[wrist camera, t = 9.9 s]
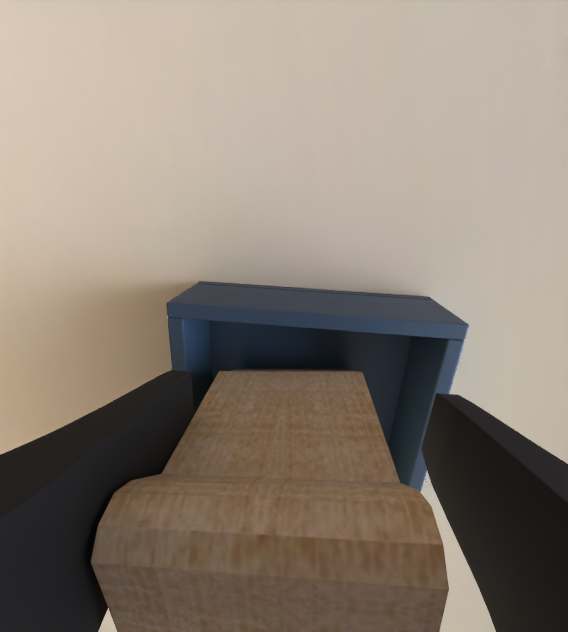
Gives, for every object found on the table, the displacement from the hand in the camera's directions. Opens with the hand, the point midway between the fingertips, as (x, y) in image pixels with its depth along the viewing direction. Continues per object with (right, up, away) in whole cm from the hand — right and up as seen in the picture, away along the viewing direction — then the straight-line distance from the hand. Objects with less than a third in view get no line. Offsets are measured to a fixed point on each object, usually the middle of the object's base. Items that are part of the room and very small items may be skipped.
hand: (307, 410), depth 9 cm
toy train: (0, -5, +8) cm, 9 cm away
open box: (0, -5, +8) cm, 10 cm away
